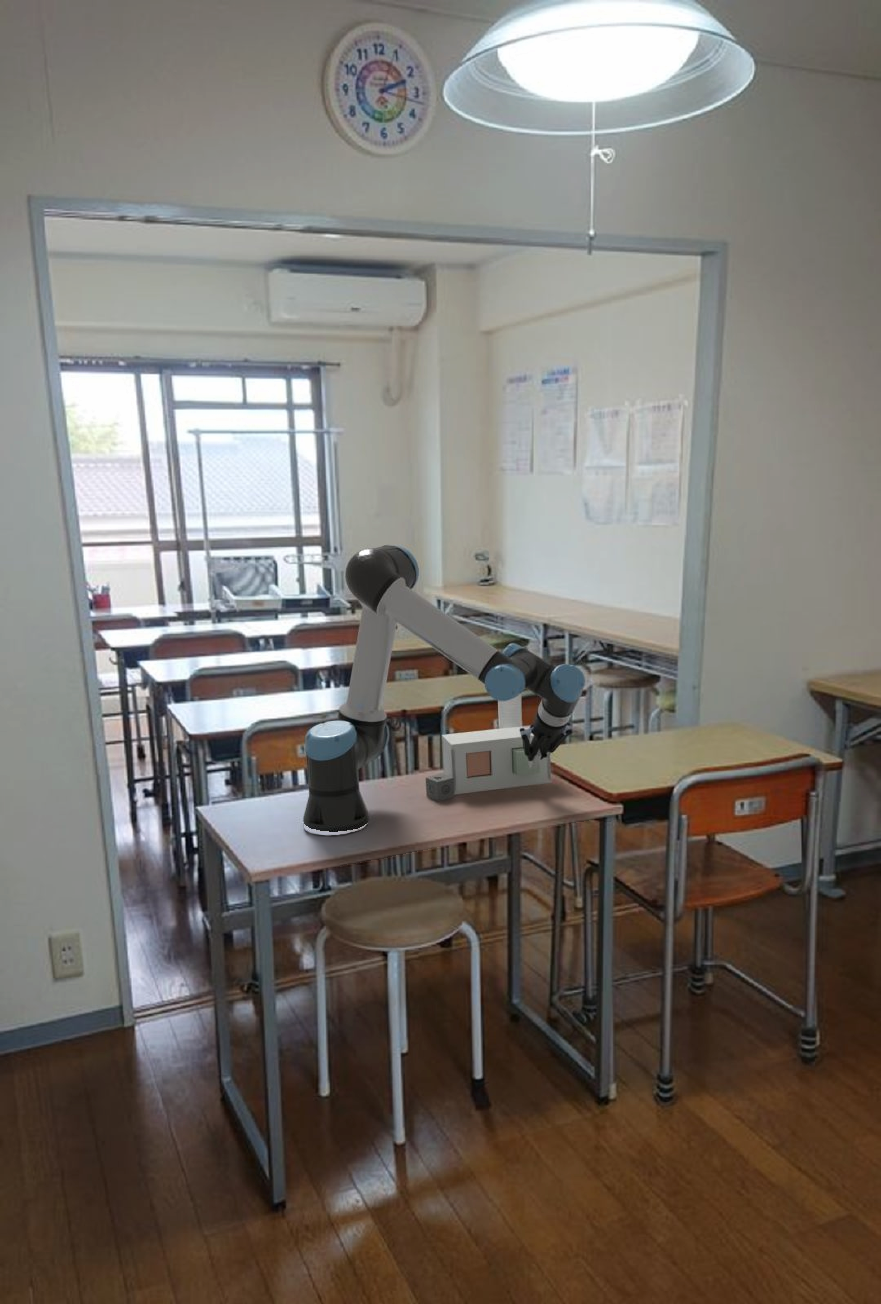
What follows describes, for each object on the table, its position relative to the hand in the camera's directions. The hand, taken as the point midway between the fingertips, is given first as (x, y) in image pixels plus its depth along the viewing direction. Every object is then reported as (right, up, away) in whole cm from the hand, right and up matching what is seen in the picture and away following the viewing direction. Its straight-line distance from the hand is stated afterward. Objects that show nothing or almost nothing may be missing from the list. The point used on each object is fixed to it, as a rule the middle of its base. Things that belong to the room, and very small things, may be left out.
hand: (531, 764), depth 228 cm
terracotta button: (-14, -3, +7) cm, 16 cm away
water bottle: (-2, -3, +25) cm, 25 cm away
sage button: (-1, -2, +6) cm, 7 cm away
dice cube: (-23, -9, +1) cm, 24 cm away
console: (-8, -6, +10) cm, 14 cm away
